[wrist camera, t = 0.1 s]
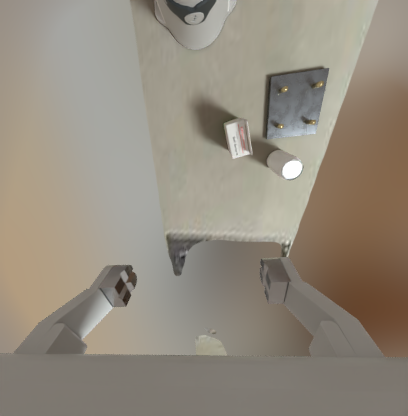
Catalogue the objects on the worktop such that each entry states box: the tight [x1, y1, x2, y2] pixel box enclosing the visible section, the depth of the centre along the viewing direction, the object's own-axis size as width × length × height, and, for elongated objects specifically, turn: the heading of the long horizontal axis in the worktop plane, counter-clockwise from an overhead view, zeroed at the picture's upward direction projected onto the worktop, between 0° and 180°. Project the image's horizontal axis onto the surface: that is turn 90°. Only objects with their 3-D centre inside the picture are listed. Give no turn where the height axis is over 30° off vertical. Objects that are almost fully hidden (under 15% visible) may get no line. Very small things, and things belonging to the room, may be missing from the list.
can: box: [267, 150, 303, 180], centre depth 47 cm, size 6×6×12 cm
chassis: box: [266, 68, 329, 139], centre depth 43 cm, size 15×14×4 cm
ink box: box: [223, 118, 252, 159], centre depth 43 cm, size 9×5×15 cm, turn 17°
